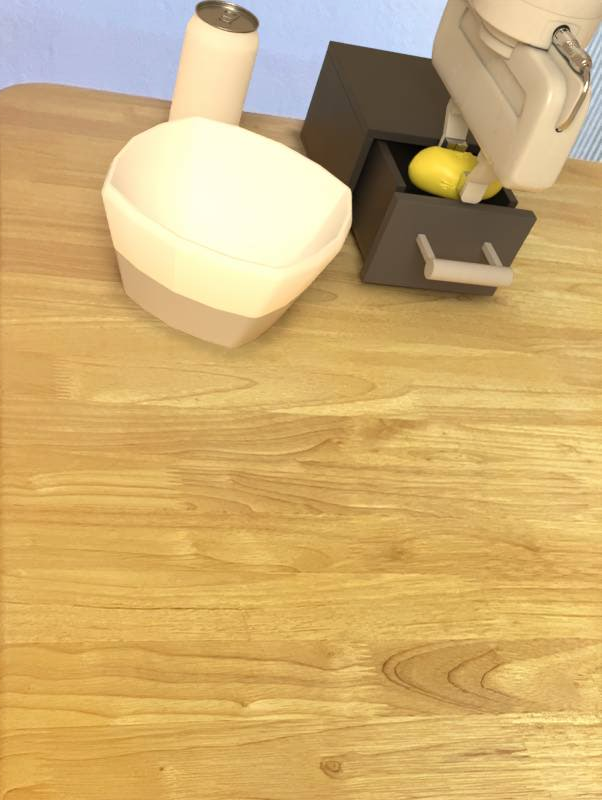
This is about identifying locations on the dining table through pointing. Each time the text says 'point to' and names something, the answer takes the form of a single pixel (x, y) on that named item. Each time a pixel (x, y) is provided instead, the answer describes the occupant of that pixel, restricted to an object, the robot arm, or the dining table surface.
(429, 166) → the lemon
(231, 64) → the can
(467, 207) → the drawer
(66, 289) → the dining table surface
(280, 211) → the bowl
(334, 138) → the cabinet
